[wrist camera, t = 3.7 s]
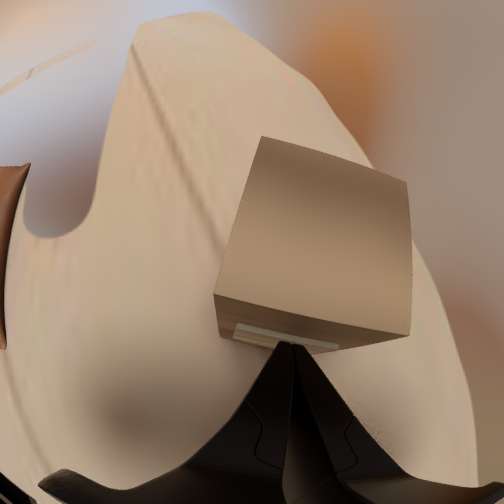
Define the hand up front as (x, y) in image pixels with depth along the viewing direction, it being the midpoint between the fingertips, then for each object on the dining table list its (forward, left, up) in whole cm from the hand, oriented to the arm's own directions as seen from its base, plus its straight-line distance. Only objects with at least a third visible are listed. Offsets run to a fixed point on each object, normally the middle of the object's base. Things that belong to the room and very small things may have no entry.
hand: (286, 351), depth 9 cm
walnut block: (+1, +3, -7) cm, 7 cm away
